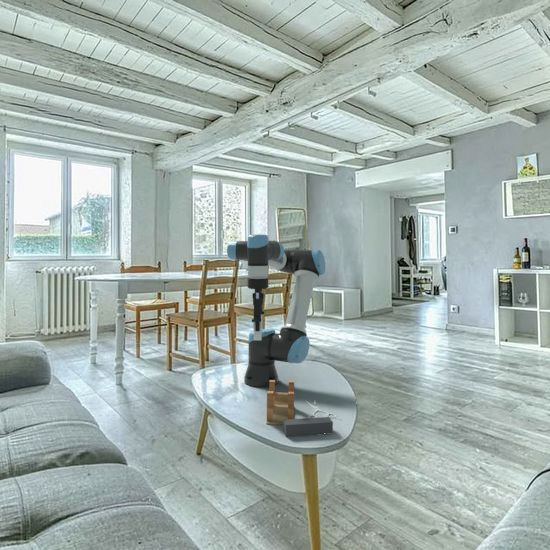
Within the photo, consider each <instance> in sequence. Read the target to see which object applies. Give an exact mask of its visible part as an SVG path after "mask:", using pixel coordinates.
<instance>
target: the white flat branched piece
mask: <svg viewBox="0 0 550 550" xmlns="http://www.w3.org/2000/svg"><path fill="white" fill-rule="evenodd" d="M305 402H306V403H307V404H308V405H309V406H310V407H311V408H312V409H313V410H314V412H312V414H310V415H308V417H307V418H311V417H313V418H318V416H317V415H315V414H316V413H318V412H320V413H323V412H324V414H326V417H327V416H328V417H331V418H330V419H336V418H338V419H337V420H339V419H341V418H340V417H337V415H336V414H334V413H330V412H327V411H325V410H322V409H320V408H319V407H318V405H317V406H315V404H317V402H316V400H315V399H314V401H313V403H314V404H311V403H310V402H309V401H307V400H305ZM329 414H332V415H329ZM334 415H335V416H334Z"/></svg>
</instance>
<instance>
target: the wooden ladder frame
mask: <svg viewBox="0 0 550 550" xmlns="http://www.w3.org/2000/svg"><path fill="white" fill-rule="evenodd" d="M285 419H295V380H288V392H279V391H278V392H276V384H275V380H270V381H269V386H268V391H267V392H266V423H265V424H266V425H281V426H283V420H285Z"/></svg>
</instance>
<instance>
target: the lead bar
mask: <svg viewBox="0 0 550 550" xmlns="http://www.w3.org/2000/svg"><path fill="white" fill-rule="evenodd" d="M333 423H334V422H333V421H332V418H329V417H327V416H322V417H317V418H315V417H310V418H308V417H307V418H303V417H302V418H294V419H285V420H283V425H282V426H283V427H282V428H283V429H282V431H283V434H284V436H285V437H286V438H290V437H292V438H293V437H303V436H306V437H307V436H317V434H322V435H325V434H324V433H333V429H334V427H333V425H334V424H333ZM288 436H289V437H288Z"/></svg>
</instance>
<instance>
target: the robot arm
mask: <svg viewBox="0 0 550 550" xmlns="http://www.w3.org/2000/svg"><path fill="white" fill-rule="evenodd" d="M226 248H227V249H226V254H227V257H228V258H229V259H230V260H232V261H244V262H247V267H246V268H245V271H246V272H247V277H248V278H247V289H248V290H254V292H253V293H252V305H253V318H252V319H251V322H252V323H253V330H251V332H249V335H248V364H247V368H246V371H245V373H244V378H243V379H244V381H243V382H244V384H246V385H248V386H251V387H255V388H256V387H258V388H259V387H260V388H263V387H265V388H266V387H269V381H270V380H275V385H277V384H278V383H279V375H278V374H279V373H278V371H277V368H276V364H275V363H276V362H282V363H288V364H302V363H303V362H304V361H305V360H306V359H307V356H308V354H309V350H310V342H311V341H310V339H309V338H308V337H307V336H308V334H307V331H305V328H306V323H307V318H308V315H309V310H310V304H311V300H312V296H313V291H314V288H315V287H314V285H315V283H316V282H317V281H319V279H320V278H319V277H320V276H322V275H324V274H325V272H326V260H325V256H324V253H323V251H322V250H319V249H285V246H284V245H283V244H282V243H281V242H280V241H278V240H270V239H269V236H268V235H267V234H249V235H248V236H247V240H234V241H230V242H228V244H227V247H226ZM269 268H271V269H273V270H274V271H275V270H276V271H279V272H282V273H286V274H291V275H292V274H293V276H294V277H295V282H294V286H293V289H292V290H293V291H292V295H291V300H290V303H289V308H288V313H287V316H286V321H285V325H284V326H282V327H281V328H280V331H279V333H276V329H274V328H263V315H264V314H265V311H263V303H264V297H265V296H264V292H263V290H267V289H268V288H269V278H268V277H269V273H270V272H269V271H270V270H269Z"/></svg>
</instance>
